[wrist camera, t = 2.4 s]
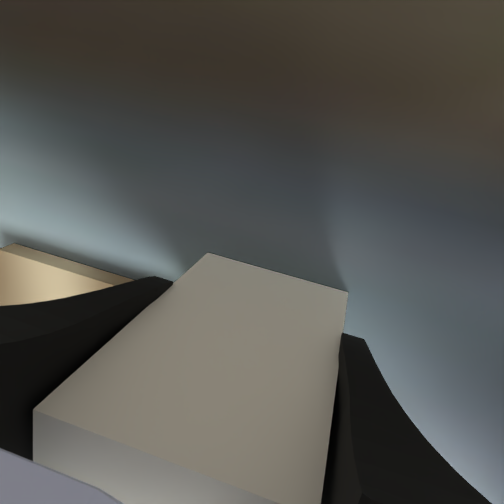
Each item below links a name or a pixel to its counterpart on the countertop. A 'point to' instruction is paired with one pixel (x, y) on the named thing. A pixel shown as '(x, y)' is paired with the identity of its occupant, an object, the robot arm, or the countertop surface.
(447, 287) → the countertop surface
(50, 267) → the oak strip
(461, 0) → the countertop surface
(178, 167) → the countertop surface
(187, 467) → the domino
